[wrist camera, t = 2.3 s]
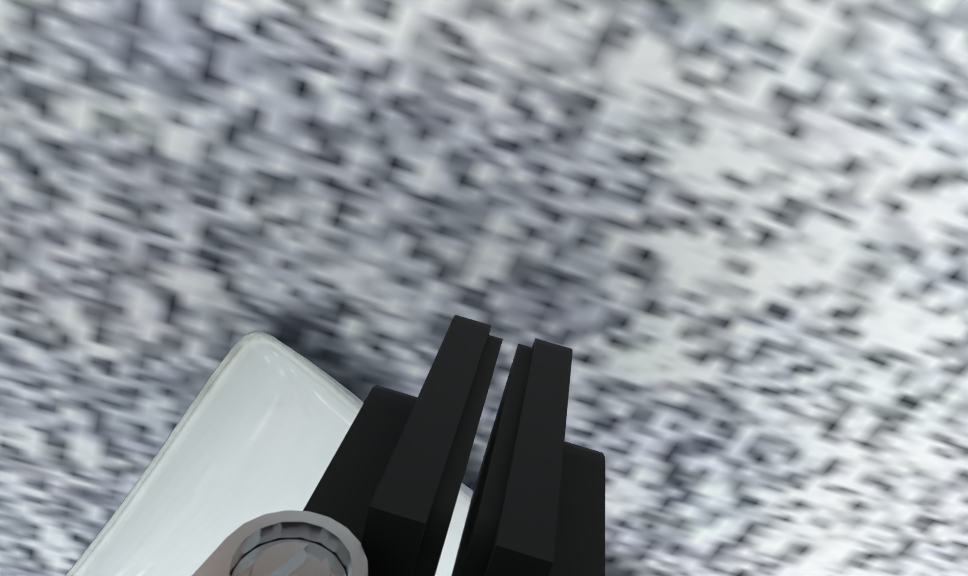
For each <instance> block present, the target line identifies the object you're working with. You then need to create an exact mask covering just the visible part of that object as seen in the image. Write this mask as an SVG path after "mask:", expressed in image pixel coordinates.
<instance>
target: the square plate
mask: <svg viewBox="0 0 968 576" xmlns="http://www.w3.org/2000/svg"><path fill="white" fill-rule="evenodd" d="M363 404H364V402H362V401H361V400H360V399H359V398H358V397H356V396H355V395H354V394H353V393H352V392H350V391H349V390H348V389H346V388H345V387H344V386H342V385H341V384H340V383H339V382H337V381H336V380H335V379H333V378H332V377H331V376H330V375H328V374H327V373H326V372H324V371H323V370H321V369H320V368H319V367H317V366H316V365H315V364H313V363H312V362H310V361H309V360H308V359H306V358H305V357H303V356H301V355H300V354H298V353H297V352H295V351H294V350H292V349H291V348H290V347H288V346H286V345H285V344H283V343H282V342H280V341H279V340H277V339H276V338H274V337H273V336H271V335H268V334H266V333H264V332H258V331H254V332H250V333H248V334H247V335H245V336H244V337H242V338H241V339H240V340H239V341H238V342H237V343H236V345H235V346H234V347H233V348H232V349H231V350H230V351H229V353H228V354H227V355H226V357H225V358H224V359H223V361H222V362H221V363H220V365H219V366H218V367H217V369H216V370H215V371H214V373H213V374H212V375H211V377H210V378H209V380H208V381H207V382H206V384H205V385H204V387H203V388H202V390H201V391H200V392H199V394H198V395H197V397H196V398H195V400H194V401H193V403H192V404H191V405H190V407H189V408H188V410H187V411H186V413H185V414H184V416H183V417H182V418H181V420H180V421H179V423H178V424H177V425H176V427H175V428H174V430H173V431H172V433H171V434H170V436H169V437H168V439H167V440H166V442H165V443H164V444H163V446H162V447H161V449H160V450H159V452H158V453H157V454H156V456H155V457H154V459H153V460H152V461H151V463H150V464H149V466H148V467H147V469H146V470H145V471H144V473H143V474H142V476H141V477H140V479H139V480H138V481H137V483H136V484H135V486H134V487H133V488H132V490H131V491H130V493H129V494H128V495H127V497H126V498H125V499H124V501H123V502H122V504H121V505H120V506H119V508H118V509H117V510H116V512H115V513H114V514H113V516H112V517H111V518H110V520H109V521H108V522H107V524H106V525H105V526H104V527H103V529H102V530H101V531H100V533H99V534H98V535H97V537H96V538H95V539H94V540H93V542H92V543H91V544H90V546H89V547H88V548H87V549H86V551H85V552H84V553H83V554H82V556H81V557H80V558H79V559H78V561H77V562H76V563H75V564H74V565H73V567H72V568H71V569H70V570H69V572H68V573H67V574H66V575H65V576H192V575H193V574H194V573H195V571H196V570H197V569H198V568H199V567H200V566H201V565H202V564H203V563H204V562H205V561H206V559H207V558H208V557H209V556H210V555H211V554H212V553H213V552H214V551H215V550H216V549H217V547H218V546H219V545H220V544H221V543H222V542H223V541H224V540H225V539H226V538H227V537H228V536H229V535H230V534H231V533H233V532H234V531H235V530H236V529H238V528H239V527H240V526H241V525H242V524H244V523H246V522H248V521H250V520H252V519H255V518H257V517H259V516H261V515H264V514H268V513H274V512H279V511H285V510H294V511H303V509H304V508H305V506H306V504H307V502H308V501H309V499H310V497H311V495H312V494H313V492H314V490H315V488H316V487H317V485H318V483H319V481H320V479H321V478H322V476H323V474H324V472H325V471H326V469H327V467H328V465H329V464H330V462H331V460H332V458H333V457H334V455H335V453H336V451H337V449H338V448H339V446H340V444H341V442H342V441H343V439H344V437H345V435H346V434H347V432H348V430H349V428H350V427H351V425H352V423H353V421H354V419H355V418H356V416H357V414H358V412H359V411H360V409H361V407H362V405H363ZM472 495H473V491H472V490H471V489H469V488H468V487H467V486H465V485H464V484H463V483H462V484H461V487H460V491H459V494H458V498H457V501H456V505H455V508H454V512H453V515H452V519H451V522H450V525H449V529H448V532H447V536H446V539H445V543H444V546H443V550H442V553H441V557H440V560H439V563H438V567H437V570H436V574H435V576H451V575H452V571H453V567H454V563H455V560H456V556H457V552H458V548H459V544H460V540H461V536H462V533H463V529H464V525H465V521H466V517H467V513H468V509H469V506H470V502H471V498H472Z"/></svg>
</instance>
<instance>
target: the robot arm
mask: <svg viewBox="0 0 968 576" xmlns="http://www.w3.org/2000/svg"><path fill="white" fill-rule="evenodd" d="M490 329H491V325H488V324H485V323H481V322H478V321H475V320H471V319H468V318H464V317H461V316H457V315H455V316H454V318H453V320H452V322H451V324H450V327H449V329H448V331H447V333H446V336H445V338H444V340H443V342H442V345H441V347H440V349H439V351H438V353H437V356H436V358H435V360H434V362H433V365H432V367H431V369H430V371H429V374H428V376H427V378H426V380H425V383H424V385H423V387H422V389H421V392H420V394H419V396H418V398H417V397H414V396H411V395H407V394H404V393H401V392H397V391H394V390H390V389H387V388H384V387H380V386H377V385H376V386H374V387H373V389H372V390H371V391H370V393H369V395H368V396H367V398H366V400H365V402H364V404H363V405H362V407H361V409H360V411H359V412H358V414H357V416H356V418H355V419H354V421H353V423H352V425H351V427H350V428H349V430H348V432H347V434H346V435H345V437H344V439H343V441H342V442H341V444H340V446H339V448H338V449H337V451H336V453H335V455H334V457H333V458H332V460H331V462H330V464H329V465H328V467H327V469H326V471H325V472H324V474H323V476H322V478H321V479H320V481H319V483H318V485H317V487H316V488H315V490H314V492H313V494H312V495H311V497H310V499H309V501H308V502H307V504H306V506H305V508H304V509H303V511H294V510H285V511H279V512H274V513H268V514H264V515H261V516H259V517H257V518H255V519H252V520H250V521H248V522H246V523H244V524H242V525H241V526H240V527H239V528H238V529H236V530H235V531H234V532H233V533H231V534H230V535H229V536H228V537H227V538H226V539H225V540H224V541H223V542H222V543H221V544H220V545H219V546H218V547H217V549H216V550H215V551H214V552H213V553H212V554H211V555H210V556H209V557H208V558H207V559H206V561H205V562H204V563H203V564H202V565H201V566H200V567H199V568H198V569H197V570H196V571H195V573H194V574H193V575H192V576H435V574H436V570H437V567H438V563H439V560H440V557H441V553H442V550H443V546H444V543H445V539H446V536H447V532H448V529H449V525H450V522H451V519H452V515H453V512H454V508H455V505H456V501H457V498H458V494H459V491H460V487H461V484H462V480H463V477H464V473H465V470H466V466H467V463H468V459H469V456H470V452H471V449H472V445H473V442H474V438H475V435H476V431H477V428H478V424H479V421H480V417H481V414H482V410H483V407H484V403H485V400H486V396H487V393H488V389H489V385H490V382H491V378H492V375H493V371H494V368H495V364H496V361H497V357H498V354H499V350H500V347H501V343H502V340H503V339H501V338H497V337H494V336H490V335H489V332H490ZM571 362H572V349H570V348H567V347H564V346H560V345H557V344H553V343H550V342H546V341H543V340H540V339H536V338H535V341H534V343H533V346H532V348H531V347H528V346H525V345H521V344H518V346H517V350H516V353H515V356H514V359H513V363H512V366H511V369H510V372H509V376H508V379H507V382H506V386H505V389H504V392H503V396H502V399H501V402H500V405H499V409H498V412H497V415H496V419H495V422H494V425H493V428H492V432H491V435H490V438H489V442H488V445H487V448H486V452H485V455H484V458H483V461H482V465H481V468H480V471H479V475H478V478H477V481H476V485H475V488H474V491H473V495H472V498H471V502H470V506H469V509H468V513H467V517H466V521H465V525H464V529H463V533H462V536H461V540H460V544H459V548H458V552H457V556H456V560H455V563H454V567H453V571H452V575H451V576H605V456H604V454H603V453H602V452H598V451H595V450H592V449H588V448H585V447H582V446H578V445H575V444H571V443H568V442H565V441H564V438H565V428H566V417H567V406H568V395H569V384H570V373H571Z"/></svg>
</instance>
